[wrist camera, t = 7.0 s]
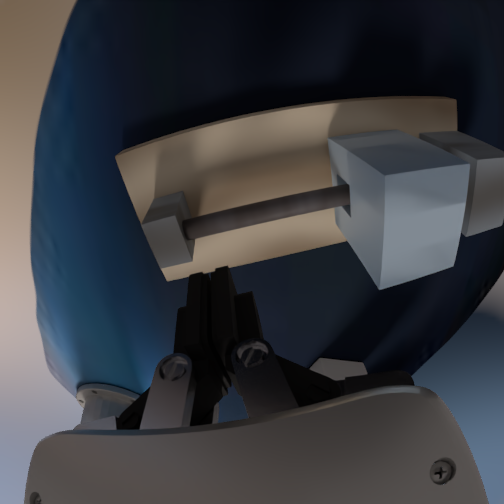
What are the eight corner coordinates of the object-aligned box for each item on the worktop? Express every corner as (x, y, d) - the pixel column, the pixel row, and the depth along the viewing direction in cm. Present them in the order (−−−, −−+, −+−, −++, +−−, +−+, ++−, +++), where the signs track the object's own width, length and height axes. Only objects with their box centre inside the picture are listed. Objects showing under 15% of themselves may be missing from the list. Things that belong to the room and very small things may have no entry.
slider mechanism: (441, 208, 22) (493, 254, 15) (169, 269, 22) (155, 343, 16) (444, 96, 16) (515, 118, 10) (122, 150, 17) (72, 193, 11)
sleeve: (397, 209, 19) (453, 266, 13) (335, 223, 19) (379, 290, 13) (397, 129, 16) (470, 163, 10) (327, 137, 16) (384, 175, 10)
